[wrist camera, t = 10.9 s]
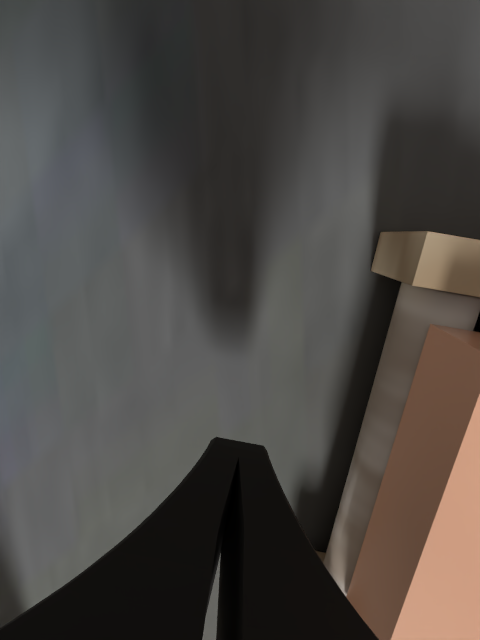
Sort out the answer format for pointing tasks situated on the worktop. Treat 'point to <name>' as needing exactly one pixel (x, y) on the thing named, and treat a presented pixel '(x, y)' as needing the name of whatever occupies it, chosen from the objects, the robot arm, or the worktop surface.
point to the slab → (428, 505)
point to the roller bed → (401, 367)
